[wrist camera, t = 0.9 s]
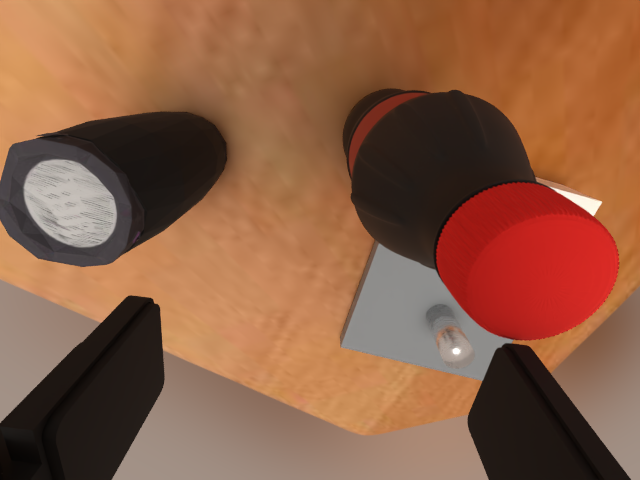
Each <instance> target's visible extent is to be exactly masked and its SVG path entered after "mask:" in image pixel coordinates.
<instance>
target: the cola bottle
mask: <svg viewBox="0 0 640 480" xmlns="http://www.w3.org/2000/svg"><path fill="white" fill-rule="evenodd" d="M343 146H344V151H345V154H346V157H347V166H348V172H349V175H350V178H351V181H352V193H351V200H352V202H353V204H354V205H355V208H356V211H357V214H358V216H359V218H360V220H361V222H362V224H363V226H364V227H365V229H366V230H367V231H368V233H369V234H370V235H371V236H372V237H373V238H374V239H375V240H376V241H377V242H379V243H380V244H381V245H382V246H384V247H385V248H387V249H389V250H390V251H392V252H394V253H396V254H399V255H401V256H403V257H405V258H408V259H410V260H413V261H416V262H419V263H420V264H422V265H424V266H426V267H428V268H431V269H434V270H436V272H437V274H438V276H439V277H440V279H441V281H442V282H443V283H444V285H445V286H446V287H447V289H448V290H449V292H450V293H451V295H452V296H453V297H454V299H455V300H456V301H457V303H458V304H459V305H460V306H461V308H462V309H463V310H464V311H465V312H466V313H467V314H468V315H469V317H470V318H471V319H472V320H474V321H475V322H476V323H477V324H478V325H479V326H480V327H482V328H483V329H485V330H486V331H488V332H490V333H492V334H494V335H497V336H499V337H503V338H507V339H511V340H513V339H515V340H525V341H526V340H536V339H542V338H543V339H545V338H547V337H548V338H549V337H551V336H555V335H559V334H560V333H563V332H565V331H568V330H569V329H572V328H573V327H576V326H577V325H579V324H581V323H582V322H584V321H585V320H586V319H587V318H589V316H591V315H592V314H593V313H594V312H596V310H597V309H599V307H600V306H601V305H602V304H603V302H605V299H606V298H608V295H609V294H610V292H611V290H612V289H613V288H612V287H613V286H614V285H615V284H614V283H615V282H616V278H617V273H618V269H619V266H618V265H619V262H618V261H619V258H618V256H619V254H618V249H617V246H616V245H615V241H614V239H613V237H612V236H611V234H610V233H609V231H608V230H607V229H606V228H605V227H604V226H603V225H602V224H601V223H600V222H599V221H598V220H597V219H596V218H595V217H593V216H592V215H591V214H590V213H589V212H588V211H586V210H585V209H583V208H582V207H580V206H579V205H577V204H576V203H574V202H573V201H571V200H570V199H568V198H566V197H565V196H563V195H561V194H560V193H558V192H556V191H555V190H554V189H552V188H550V187H548V186H546V185H544V184H542V183H539V182H537V181H536V178H535V175H534V172H533V170H532V169H531V167H530V163H529V160H528V157H527V154H526V151H525V149H524V146H523V144H522V141H521V139H520V137H519V135H518V133H517V131H516V129H515V128H514V126H513V125H512V123H511V122H510V121H509V119H508V118H507V117H506V116H505V115H504V114H503V113H502V112H501V111H500V110H498V109H497V108H496V107H495V106H493V105H491V104H490V103H488V102H486V101H484V100H482V99H480V98H477V97H474V96H471V95H467V94H464V93H462V92H461V91H458V90H451V91H449V92H439V93H429V92H425V91H416V90H411V91H404V90H400V89H383V90H379V91H376V92H373V93H371V94H369V95H367V96H366V97H364V98H363V99H362V100H361V101H359V102H358V103H357V104H356V106H355V107H354V108H353V109H352V111H351V112H350V114H349V116H348V118H347V120H346V123H345V126H344V131H343Z"/></svg>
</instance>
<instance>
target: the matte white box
mask: <svg viewBox="0 0 640 480" xmlns="http://www.w3.org/2000/svg"><path fill="white" fill-rule="evenodd" d="M535 178H536V181H537V182H539V183H542V184H544V185H546V186H548V187H550V188H552V189H554V190H555V191H556V192H558V193H560V194H561V195H563V196H565V197H566V198H568V199H570V200H571V201H573V202H574V203H576V204H577V205H579V206H580V207H582V208H583V209H585V210H586V211H588V212H589V213H590V214H591V215H592V216H594V214H595V213H596V211H597V209H598V208H599V206H600V205H601V203H602V202H601V201H599V200H597V199H595V198H592V197H590V196H588V195H585V194H583V193H581V192H578V191H576V190H574V189H571V188H569V187H567V186H564V185H562V184H558V183H555V182H551V181H548V180H544V179H541V178H537V177H535Z"/></svg>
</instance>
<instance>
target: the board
mask: <svg viewBox="0 0 640 480" xmlns="http://www.w3.org/2000/svg"><path fill="white" fill-rule="evenodd" d="M438 304H444V305H447V306H449V307H450V308H451V309H452V311H453V313H454V314H455V316H456V318H457V320H458V322H459V324H460V326H461V328H462V329H463V331H464V333H465V335H466V337H467V339H468V341H469V343H470V345H471V346H472V348H473V350H474V353H475V357H474V360H473V361H472V362H471V363H470V364H469V365H468V366H466V367H463V368H459V369H454V368H450V367H448V366H447V365H445V364H444V362H443V360H442V357H441V355H440V352H439V350H438V347H437V345H436V342H435V340H434V337H433V335H432V332H431V329H430V327H429V324H428V322H427V319H426V313H427V311H428V310H429V309H430V308H431V307H432V306H434V305H438ZM513 340H514V339H513ZM513 340H511V339H507V338H503V337H499V336H497V335H494V334H492V333H490V332H488V331H486V330H485V329H483V328H482V327H480V326H479V325H478V324H477V323H476V322H475V321H474V320H472V319H471V318H470V317H469V315H468V314H467V313H466V312H465V311H464V310H463V309H462V308H461V306H460V305H459V304H458V303H457V301H456V300H455V299H454V297H453V296H452V295H451V293H450V292H449V290H448V289H447V287H446V286H445V285H444V283H443V282H442V281H441V279H440V277H439V276H438V274H437V272H436V270H434V269H431V268H428V267H426V266H424V265H422V264H420V263H419V262H416V261H413V260H410V259H408V258H405V257H403V256H401V255H399V254H396V253H394V252H392V251H390V250H389V249H387V248H385V247H384V246H382V245H381V244H380V243H379V242H377V241H376V240H375V243H374V246H373V248H372V251H371V254H370V257H369V259H368V262H367V265H366V268H365V270H364V273H363V276H362V279H361V281H360V284H359V287H358V290H357V292H356V295H355V298H354V301H353V303H352V306H351V309H350V312H349V314H348V317H347V320H346V323H345V325H344V328H343V331H342V334H341V336H340V344H341V347H342V348H346V349H351V350H355V351H359V352H363V353H367V354H372V355H376V356H380V357H384V358H388V359H393V360H397V361H401V362H405V363H410V364H414V365H418V366H422V367H426V368H431V369H435V370H439V371H443V372H447V373H452V374H456V375H460V376H464V377H469V378H473V379H477V380H481V381H483V379H484V376H485V374H486V372H487V369H488V367H489V365H490V362H491V360H492V357H493V355H494V353H495V351H496V349H497V348H499V347H502V345H503V344H505V343H512V341H513Z"/></svg>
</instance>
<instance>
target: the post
mask: <svg viewBox="0 0 640 480" xmlns="http://www.w3.org/2000/svg"><path fill="white" fill-rule="evenodd" d="M426 319H427V322H428V324H429V327H430V329H431V332H432V335H433V337H434V340H435V342H436V345H437V347H438V350H439V352H440V355H441V357H442V360H443V362H444V364H445V365H447V366H448V367H450V368H454V369H459V368H463V367H466V366H468V365H469V364H470V363H471V362H472V361H473V360H474V357H475V353H474V350H473V348H472V346H471V345H470V343H469V341H468V339H467V337H466V335H465V333H464V331H463V329H462V328H461V326H460V324H459V322H458V320H457V318H456V316H455V314H454V313H453V311H452V309H451V308H450V307H449V306H447V305H444V304H438V305H434V306H432V307H431V308H430V309H429V310H428V311H427V313H426Z"/></svg>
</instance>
